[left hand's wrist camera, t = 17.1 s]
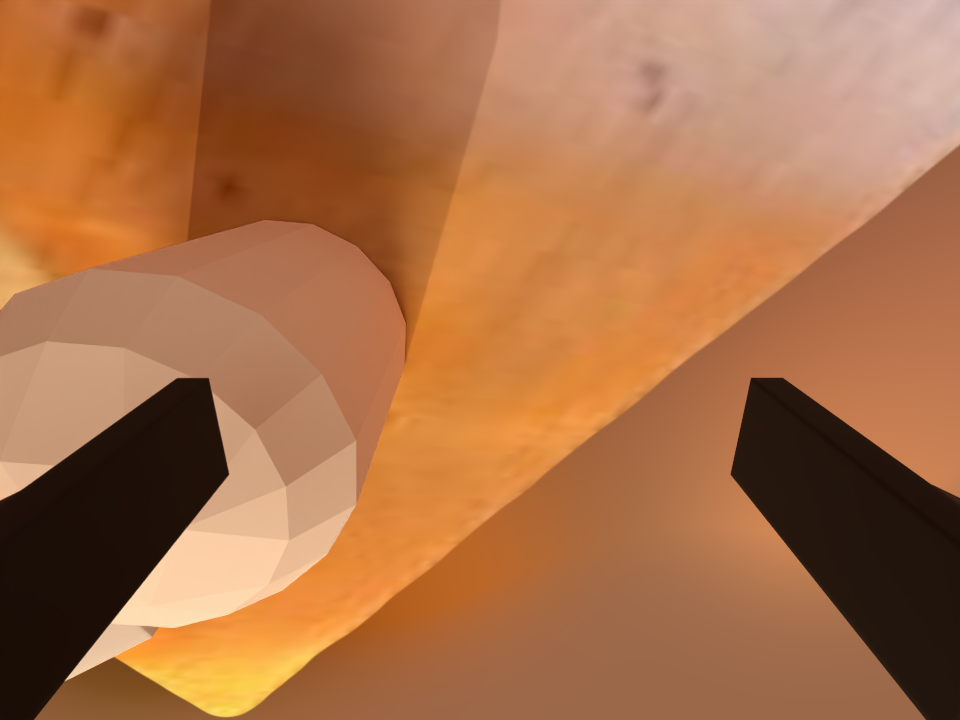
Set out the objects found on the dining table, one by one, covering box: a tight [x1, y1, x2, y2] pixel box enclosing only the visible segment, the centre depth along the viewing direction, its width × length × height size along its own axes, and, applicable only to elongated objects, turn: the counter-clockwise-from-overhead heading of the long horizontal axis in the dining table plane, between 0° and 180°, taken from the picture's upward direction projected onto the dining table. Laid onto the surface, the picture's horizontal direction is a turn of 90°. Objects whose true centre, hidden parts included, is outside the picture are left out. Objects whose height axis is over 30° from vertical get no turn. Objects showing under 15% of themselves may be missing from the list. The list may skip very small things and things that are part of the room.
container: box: [0, 220, 406, 628], centre depth 34 cm, size 21×21×28 cm
